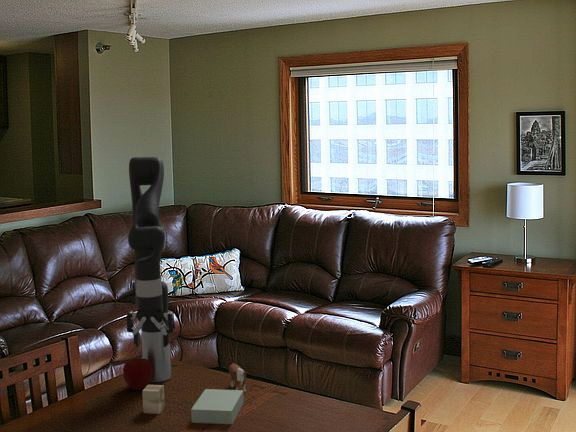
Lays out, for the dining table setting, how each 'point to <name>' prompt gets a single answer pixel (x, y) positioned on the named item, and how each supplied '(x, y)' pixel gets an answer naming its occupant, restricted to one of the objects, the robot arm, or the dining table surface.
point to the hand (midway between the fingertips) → (151, 346)
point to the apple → (137, 373)
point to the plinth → (217, 406)
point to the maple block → (153, 399)
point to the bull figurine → (237, 376)
